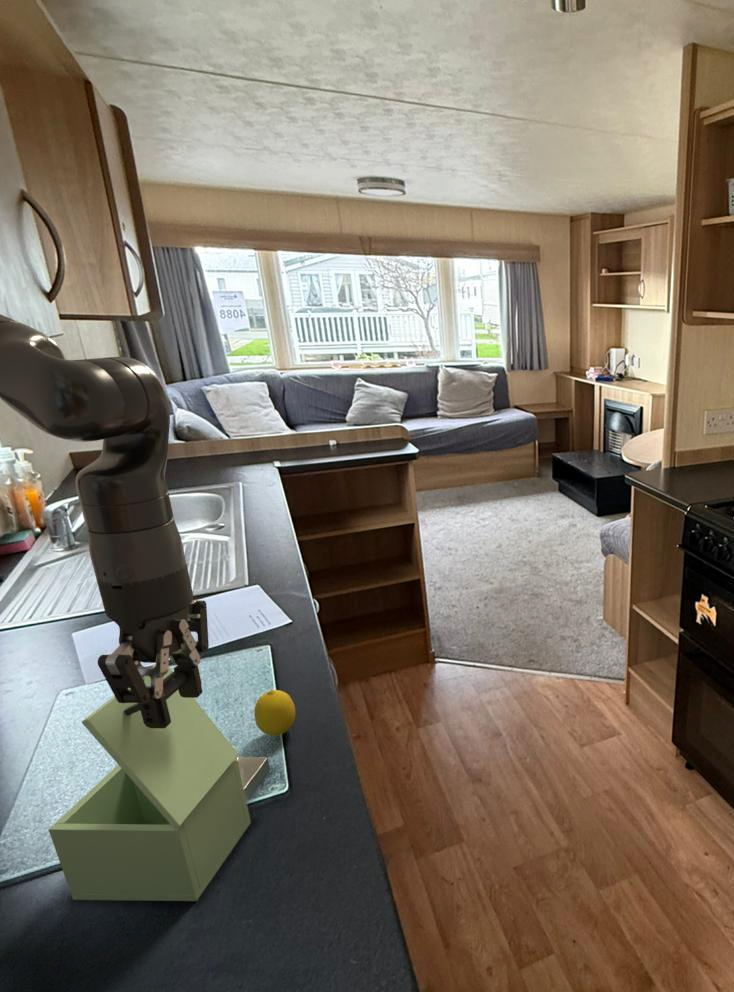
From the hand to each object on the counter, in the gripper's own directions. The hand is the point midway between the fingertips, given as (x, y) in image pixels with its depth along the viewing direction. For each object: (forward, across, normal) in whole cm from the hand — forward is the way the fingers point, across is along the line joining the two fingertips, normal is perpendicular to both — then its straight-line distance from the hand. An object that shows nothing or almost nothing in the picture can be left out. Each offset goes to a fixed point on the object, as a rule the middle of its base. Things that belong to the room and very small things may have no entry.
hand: (175, 710), depth 70 cm
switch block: (+21, -12, -6) cm, 25 cm away
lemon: (+21, -24, -3) cm, 32 cm away
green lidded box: (+21, 0, -5) cm, 22 cm away
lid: (+4, 0, -2) cm, 5 cm away
